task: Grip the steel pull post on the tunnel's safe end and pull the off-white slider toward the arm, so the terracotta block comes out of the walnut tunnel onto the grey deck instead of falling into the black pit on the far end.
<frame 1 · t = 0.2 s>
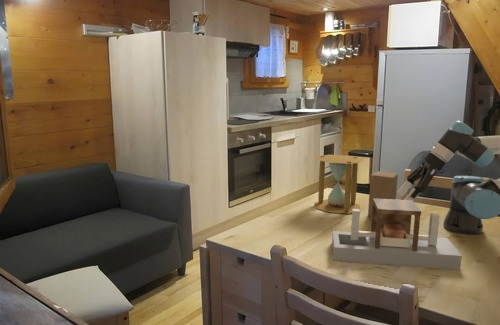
hand: (402, 198, 167), 16 cm above the table, tool tilted 35°, fingers open, 13 cm apart
block: (392, 242, 150), point 5 cm above the table, touching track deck
slider: (393, 226, 149), point 11 cm above the table, slide at 0.0 cm
wooden block: (381, 215, 195), on the table
hourglass: (337, 207, 208), on the table
tunnel: (394, 223, 149), on the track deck, point 12 cm above the table
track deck: (391, 255, 151), on the table
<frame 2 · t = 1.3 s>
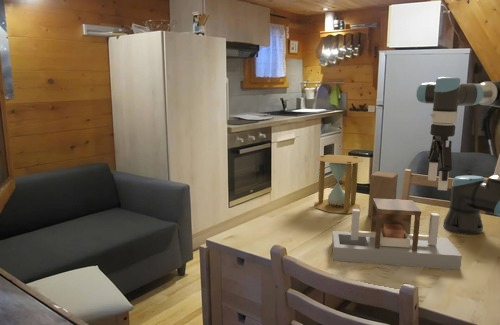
hand: (436, 185, 144), 27 cm above the table, tool pointing down, fingers open, 13 cm apart
nothing on the table moved.
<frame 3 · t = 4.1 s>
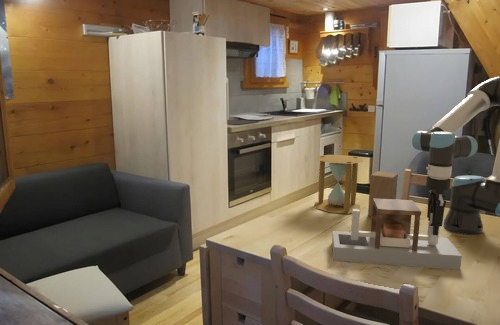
hand: (432, 241, 148), 7 cm above the table, tool pointing down, fingers closed on slider, 2 cm apart
slider: (393, 226, 149), point 11 cm above the table, slide at 0.0 cm, touching gripper
everything else where it was.
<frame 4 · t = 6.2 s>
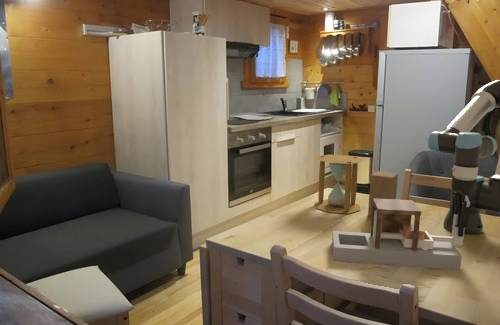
hand: (456, 242, 147), 7 cm above the table, tool pointing down, fingers closed on slider, 2 cm apart
block: (412, 243, 149), point 5 cm above the table
slider: (416, 228, 148), point 11 cm above the table, slide at -7.8 cm, touching gripper
everything else where it was.
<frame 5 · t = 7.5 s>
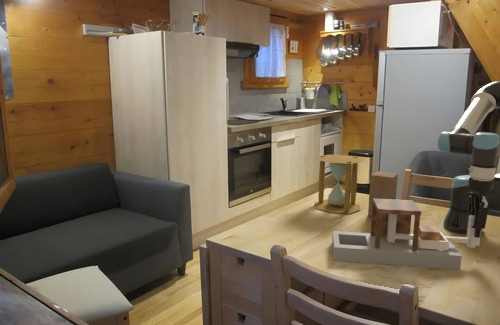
hand: (473, 243, 146), 7 cm above the table, tool pointing down, fingers closed on slider, 2 cm apart
block: (426, 244, 149), point 5 cm above the table, touching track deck
slider: (431, 229, 147), point 11 cm above the table, slide at -12.8 cm, touching gripper
everything else where it was.
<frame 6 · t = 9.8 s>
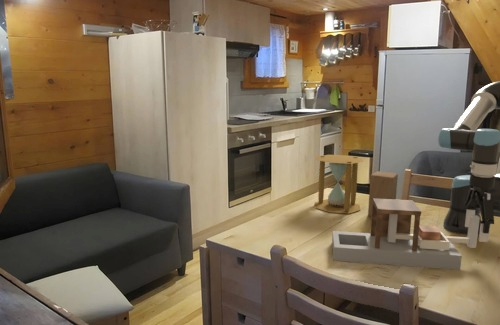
hand: (475, 233, 145), 10 cm above the table, tool pointing down, fingers open, 13 cm apart
block: (427, 244, 148), point 5 cm above the table, touching slider, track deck
slider: (432, 229, 147), point 11 cm above the table, slide at -13.0 cm, touching block
everything else where it was.
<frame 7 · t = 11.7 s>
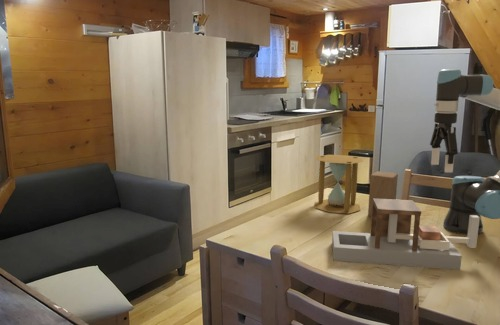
hand: (441, 168, 158), 30 cm above the table, tool pointing down, fingers open, 13 cm apart
nothing on the table moved.
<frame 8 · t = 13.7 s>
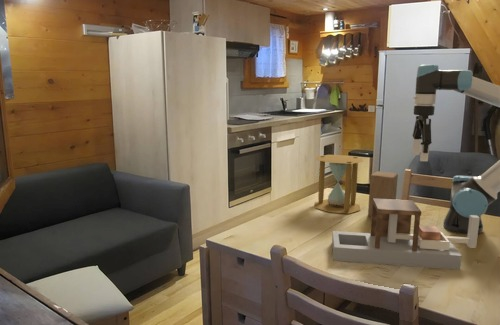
hand: (419, 157, 168), 32 cm above the table, tool pointing down, fingers open, 13 cm apart
nothing on the table moved.
at the end: block inside the target area (4.5 cm from its centre), point 5.0 cm above the table; slider slide at -13.0 cm; block tilted 0° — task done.
